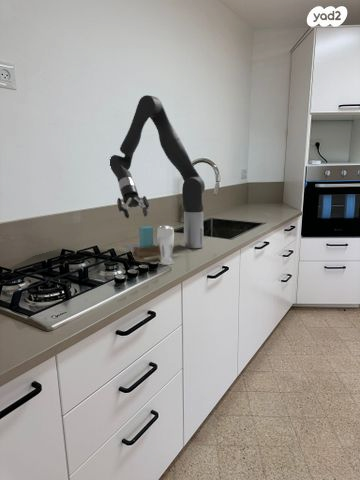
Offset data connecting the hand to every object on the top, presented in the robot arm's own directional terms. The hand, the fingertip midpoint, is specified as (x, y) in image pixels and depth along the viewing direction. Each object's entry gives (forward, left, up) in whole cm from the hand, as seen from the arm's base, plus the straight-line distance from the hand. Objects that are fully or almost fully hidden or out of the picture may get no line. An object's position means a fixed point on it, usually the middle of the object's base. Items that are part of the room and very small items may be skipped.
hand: (137, 216), depth 158 cm
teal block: (-6, +11, -15) cm, 19 cm away
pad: (+2, -2, -16) cm, 16 cm away
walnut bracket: (-7, +11, -16) cm, 20 cm away
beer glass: (-16, +20, -16) cm, 30 cm away
